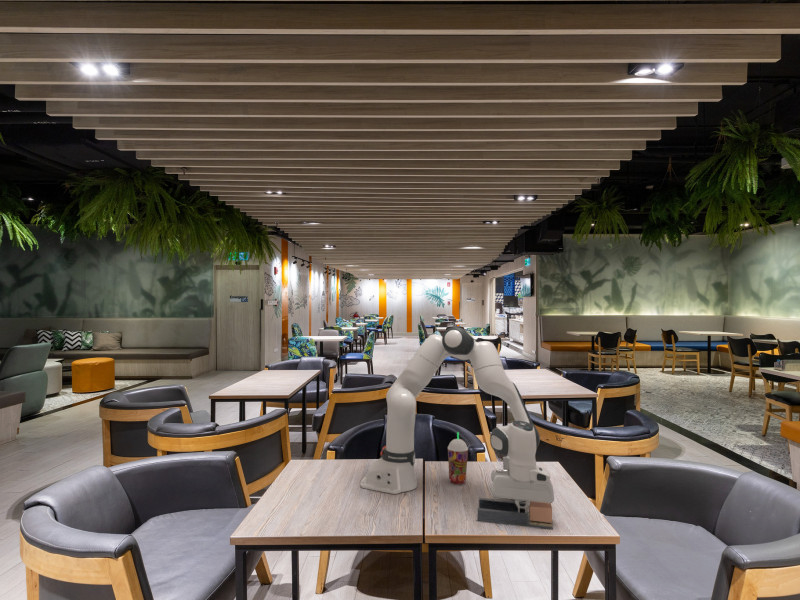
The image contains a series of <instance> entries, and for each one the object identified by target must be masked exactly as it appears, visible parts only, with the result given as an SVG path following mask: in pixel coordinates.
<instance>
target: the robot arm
mask: <svg viewBox="0 0 800 600" xmlns="http://www.w3.org/2000/svg"><path fill="white" fill-rule="evenodd" d="M448 357H449V358H451V359H453V360H457V361H460V362H469V361H470V363H471V365H472V369H473V370H472V371H473V374H474V378H475V379H474V380H475V382H476V384H477V386H478V387H479V389H481V391H483V392H484V393H486V394H489V395H492V396H494V397H498V398H500V399H501V400H503V401H504V402H505V403H506V404H507V406H508V407H509V411H511V415H512V417H513V419H514V421H512V422H511V423H510V424H508V425H502V426H497V427H495V428H493V429H492V431H491V433H490V437H489V441H490V447H491V448H492V450H493V451H494V453H496V454H498V455H502V456H509V458H510V459H509V470H503V469H501V468H495V469H493V470H492V471H491V474H490V479H491V481H492V487H491V495H492V497H494V498H495V499H505V500H506V499H507V500H514V502H515V504H516V505H517V507H518V512H519V513H527V512H528V511H527V510H528V509H529V505H530V501H534V502H544V503H551V504H553V502H554V501H555V493H554V486H553V483H552V480H551V475H550V471H549V470H548V469H547V468H544V467H542V466H539V465H537V460H536V453H537V449H538V447H539V445H540V441H541V436H540V433H539V431H538V429H537V427H536V425H535V424H534V423H533V420H532V418H531V416H530V414H529V411H528V409H527V407H526V404H525V402H524V399H523V398H522V396H521V392H520V391H519V389H518V387H517V385H516V384H515V383H514V382H513V381H512V380H510V378H509V377H508V375H507V373H506V372H505V370H504V366H503V363H502V360H501V357H500V354H499V352H498V349H497V347H496V345H494V343H493V342H491V341H487V340H483V341H482V340H481V341H477V340H476V339H475V338H474V337H473V335H472V334H470V333H469V332H468V331H466V330H465V329H464V328H462V327H459V326H453V327H449V328H447V329H446V330H445V332H443V334H442V335H440V334H435V333H433V334H430V335H429V336H427V338H426V339H425V340H424V341H423V342H422V343H421V345H419V347H418V348H417V350H416V352H415V353H414V354H413V356H412V358H411V359H410V360H409V362H408V363H407V365H406V366H405V368H404V370H402V372H401V373H400V374H399V376H398V377H397V378H396V379H395V381H394V382H393V383H392V384H391V386H390V387H389V389H388V390H387V392H386V397H385V399H386V400H385V401H386V403H387V404H386V405H387V414H386V415H387V416H386V429H385V430H386V433H385V435H386V437H385V438H386V440H385V442H386V443H385V444H386V445H384V446H383V447H382V449H381V451H380V458H379V459H377V460H376V461H374V462H373V463H372V464H371V465H370V466H369V467H368V469H367V472H366V475H365V476H364V477H363V478H362V479H361V481H360V487H361V488H363V489H365V490H370V491H377V492H383V493H387V494H392V495H397V494H400V493H404V492H409V491H414V490H415V489H416V488H417V487H418V481H417V478H416V477H417V476H416V469H415V463H416V450H415V448H414V447H415V423H416V411H417V410H416V409H417V400H416V398H417V397H418V395H420V394H421V392H422V391H423V390H424V389H425V388H426V386H428V385H429V384H430V382H431V380H432V379H433V377H434V376H435V374H436V373H437V371H438V370H439V368H440V367H441V365H442V363H443V362H444V361H445V359H447V358H448ZM519 500H524V501H523V502H525V503H526V505H525V506H520V505H519Z"/></svg>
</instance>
